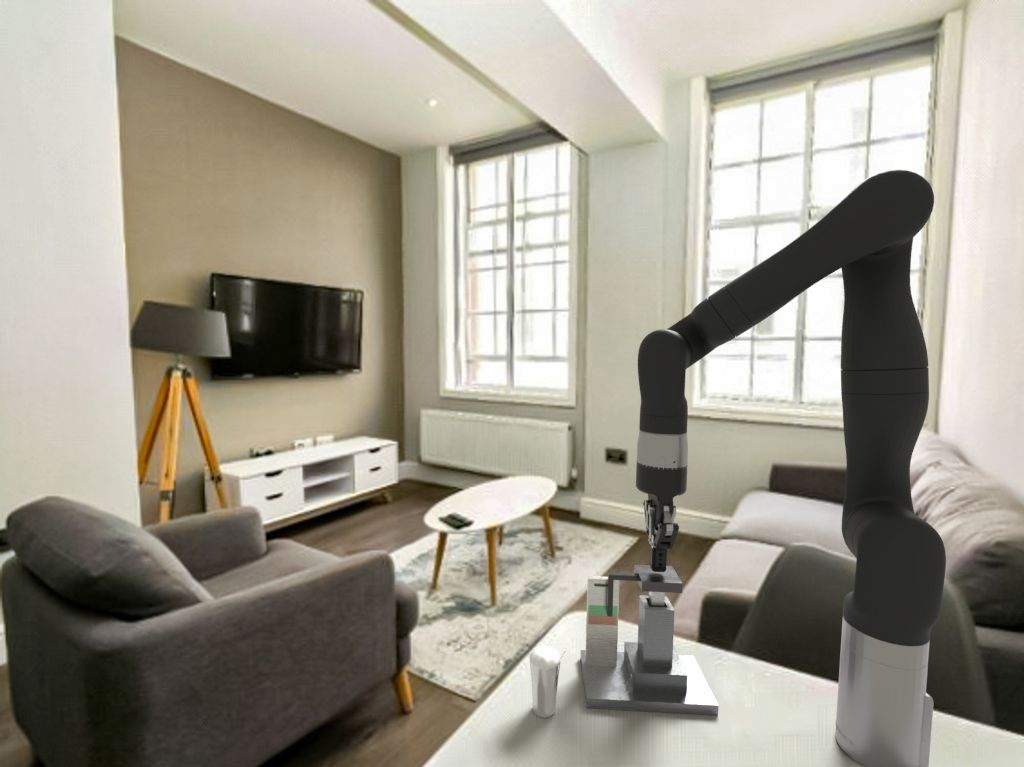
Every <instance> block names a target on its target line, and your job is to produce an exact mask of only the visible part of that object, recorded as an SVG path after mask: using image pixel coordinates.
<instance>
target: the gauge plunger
mask: <svg viewBox="0 0 1024 767" xmlns="http://www.w3.org/2000/svg"><path fill="white" fill-rule="evenodd" d="M633 569H634V570H633V572H620V571H619V572H614V571H612V572H611V571H608V572H607V577H608V582H607V616H609V617H612V614H613V584H614V580H620V581H630V582H634V581H635V582H637V584H638V586H639V588H640V591H641V592H648V596H649V602H648V605H649V607H664V606H665V596H666V593H671V594H672V593H673V594H683V581H682V580H681V579H680V577H679V576H678V574H677V572H676V570H675V568H674V567H673V566H672V565H666V571H665V572H654V571H652V569H651V567H650V564H648V565H647V564H634V568H633Z"/></svg>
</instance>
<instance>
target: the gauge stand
mask: <svg viewBox="0 0 1024 767" xmlns="http://www.w3.org/2000/svg"><path fill="white" fill-rule="evenodd" d="M620 581H621V580H614V584H613V614H612V617H609V616H607V582H608V576H599V575H597V576H596V575H587V589H586V590H587V591H586V617H585V618H586V619H585V620H586V625H585V627H586V628H585V649H581V650H580V665H581V672H582V673H581V674H582V679H583V680H582V681H583V687H584V694H585V702H586V709H598V710H599V709H601V710H614V711H615V710H617V711H634V712H650V713H651V712H655V713H669V714H670V713H671V714H686V715H687V714H688V715H689V714H690V715H706V716H707V715H708V716H719V704H718V702H717V700H716V698H715V695H714V694H713V692H712V690H711V688H710V686H709V684H708V682H707V680H706V678H705V676H704V674H703V671H702V670H701V668H700V666H699V664H698V662H697V660H696V658H695V656H694V655H688V654H687V655H686V654H679V653H678V652H677V649H676V647H675V646H674V629H675V628H674V627H675V609H674V607H673V605H672V603H671V602H670V600H669V598H668V595H667V596H666V595H665V606H664V607H649V605H648V602H649V595H641V594H640V595H639V596H638V597H639V599H638V600H639V601H638V622H637V623H638V626H637V628H638V629H637V642H635V641H633V642H632V641H624V644H623V645H624V647H623V648H624V649H623V651H618V640H619V639H618V635H619V633H618V632H619V610H620V609H619V608H620V607H619V605H620Z"/></svg>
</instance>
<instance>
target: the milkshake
mask: <svg viewBox="0 0 1024 767" xmlns="http://www.w3.org/2000/svg"><path fill="white" fill-rule="evenodd" d="M566 650H567V648H565V650H564V651H563V653H562V655H561V654H560V652H558V650H557V649H555V648H554V647H551V646H549V645H539V646H536V647H534V648H533V649H532V651H530V654H529V665H530V666H529V667H530V668H529V669H530V677H531V690H532V691H531V693H532V710H533V711H532V712H533V713H534V714H535V715H536V716H537V717H540V718H545V719H546V718H550V717H552V716H553V715H554V713H555V712H556V705H557V693H558V685H559V684H558V683H559V675H560V670H561V669H560V668H561V660H562V658H563V656H564V655H565V653H566Z"/></svg>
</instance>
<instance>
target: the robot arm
mask: <svg viewBox="0 0 1024 767" xmlns="http://www.w3.org/2000/svg"><path fill="white" fill-rule="evenodd" d="M932 187H933V186H932V185H931V184H930V183H929V181H928V180H927V179H925V177H924V176H922V175H920V174H919V173H917V172H914V171H910V170H906V169H892V170H891V169H890V170H885V171H882V172H881V171H880V172H878V173H875V174H873V175H871V176H868V177H867V178H865V179H863V180H862V181H861V182H859V183H858V184H857V185H855V186H854V187H853V188H852V189H851V191H850V192H849V193H848V194H847V195H846V197H844V198H843V199H842V200H841V201H840V202H839V203H837V205H835V206H834V207H833V208H832V209H831V210H830V211H829V212H827V214H825V215H824V216H823V217H821V219H820V220H819V221H817V222H815V224H813V225H812V226H810V228H808V229H806V230H805V231H804V232H803V233H802V234H801V235H799V236H798V237H797V238H795V239H794V240H793V241H791V242H790V243H788V244H787V245H785V246H784V247H783V248H782V249H780V250H779V251H777V252H775V253H774V254H772V255H770V257H768V258H766V259H765V260H763V261H761V262H760V263H758V264H757V265H755V266H753V267H752V268H750V269H749V270H747V271H746V272H744V273H742V274H741V275H739V276H738V277H736V278H734V279H733V280H731V281H730V282H729V283H727V284H726V285H724V286H722V287H721V288H720V289H718V290H717V291H715V292H714V293H713V292H712V294H711V295H709V296H708V297H706V298H705V299H703V300H702V301H700V302H699V303H698V304H697V305H696V306H695V307H694V308H693V310H692V311H691V312H690V313H689V314H688V315H686V316H685V317H683V318H682V319H680V320H678V321H677V322H676V323H674V324H673V325H671V326H669V327H667V328H665V329H656V330H653V331H651V332H650V333H648V334H646V336H645V337H644V338H643V339H642V341H641V343H640V345H639V348H638V354H637V375H638V377H637V378H638V385H639V395H640V407H639V426H638V427H639V428H638V429H639V430H638V438H637V443H636V467H635V468H636V471H635V472H636V474H635V487H636V488H637V489H638V491H640V492H641V493H644V494H647V499H644V500H643V502H642V504H643V510H644V519H645V529H646V531H645V533H646V535H647V537H648V542H649V546H650V548H649V550H650V551H649V565H650V567H651V569H652V571H654V572H665V571H666V566H667V559H668V557H667V556H668V550H672V549H673V547H674V544H675V541H676V538H677V535H678V533H679V530H680V526H679V523H676V522H674V521H675V518H676V516H677V506H676V505H675V504H674V498H675V497H677V496H681V495H684V494H685V493H686V492H687V489H688V486H687V485H688V463H689V461H688V459H689V441H688V414H689V413H688V412H689V411H688V410H689V408H688V407H689V406H688V400H687V397H686V395H685V393H686V375H687V374H686V373H687V372H686V370H687V369H689V368H690V367H691V366H693V365H695V364H696V363H697V362H699V361H700V360H702V359H703V358H704V357H706V356H708V355H709V354H710V353H711V352H712V351H714V350H716V348H718V347H720V346H722V345H724V344H726V343H729V342H730V341H733V340H734V339H736V338H737V337H738V336H741V335H742V334H743V333H745V332H747V331H748V330H750V329H752V328H753V327H755V326H756V325H758V324H760V323H761V322H763V321H764V320H766V319H767V318H769V317H771V316H772V315H773V314H775V313H777V312H778V311H779V310H780V309H782V308H784V306H786V305H788V304H789V303H790V302H791V301H793V300H794V299H795V298H797V297H799V295H801V294H802V293H803V292H804V291H806V290H808V289H809V288H811V287H813V286H814V285H816V284H817V283H818V282H820V281H822V280H823V279H824V278H826V277H828V276H830V275H831V274H833V273H835V272H836V271H838V270H840V269H841V276H842V282H843V297H844V299H843V302H844V303H843V311H842V312H843V314H842V325H841V340H840V342H841V343H840V393H841V404H842V405H841V407H842V422H843V437H844V438H843V439H844V447H845V458H846V460H845V461H846V468H845V469H846V471H845V472H846V473H845V484H844V485H845V486H844V496H843V504H842V513H841V514H842V516H841V534H842V539H843V541H844V543H845V545H846V546H847V547H846V548H848V550H849V552H851V554H852V555H853V556H854V558H855V559H856V560H855V561H856V562H855V563H856V564H855V574H854V583H853V591H850V592H848V593H847V594H846V595H845V597H844V598H843V607H842V624H841V641H840V655H839V668H838V669H839V670H838V671H839V672H838V686H837V700H836V701H837V702H836V716H835V731H834V733H835V735H834V736H835V739H836V742H837V743H838V746H839V747H840V748H841V749H842V750H843V752H844V753H845V754H846V755H848V756H849V757H850V758H851V759H852V760H854V761H855V762H856V763H859V764H860V765H862V766H864V767H930V766H929V765H930V754H931V753H930V752H931V739H932V726H933V716H934V715H933V713H934V703H935V702H934V699H933V697H932V696H931V695H930V694H929V693H928V692H927V684H928V682H927V681H928V669H929V668H928V667H929V654H930V641H931V631H932V628H934V626H935V625H936V623H937V622H938V620H939V618H940V615H941V614H940V613H941V608H942V601H943V600H942V599H943V592H944V586H945V577H946V570H947V569H946V568H947V567H946V566H947V555H946V548H945V543H944V540H943V539H942V537H941V535H940V534H939V532H938V531H937V530H936V529H935V528H934V527H933V526H932V525H931V524H930V523H928V522H927V521H926V520H924V519H923V518H921V517H919V516H918V515H917V514H916V513H915V510H914V504H913V498H912V488H911V485H912V484H911V461H912V457H913V453H914V450H915V447H916V444H917V442H918V439H919V436H920V435H921V432H922V428H923V426H924V424H925V420H926V417H927V415H928V409H929V401H930V380H929V355H928V349H927V344H926V340H925V336H924V332H923V329H922V325H921V321H920V319H919V316H918V313H917V310H916V307H915V303H914V300H913V297H912V296H913V295H912V288H911V265H912V264H911V262H912V251H913V250H912V249H913V243H914V237H915V236H916V235H917V234H919V233H920V231H921V230H923V228H924V227H925V226H926V224H927V223H928V221H929V219H930V217H931V214H932V212H933V209H934V205H935V195H934V191H933V188H932Z"/></svg>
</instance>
